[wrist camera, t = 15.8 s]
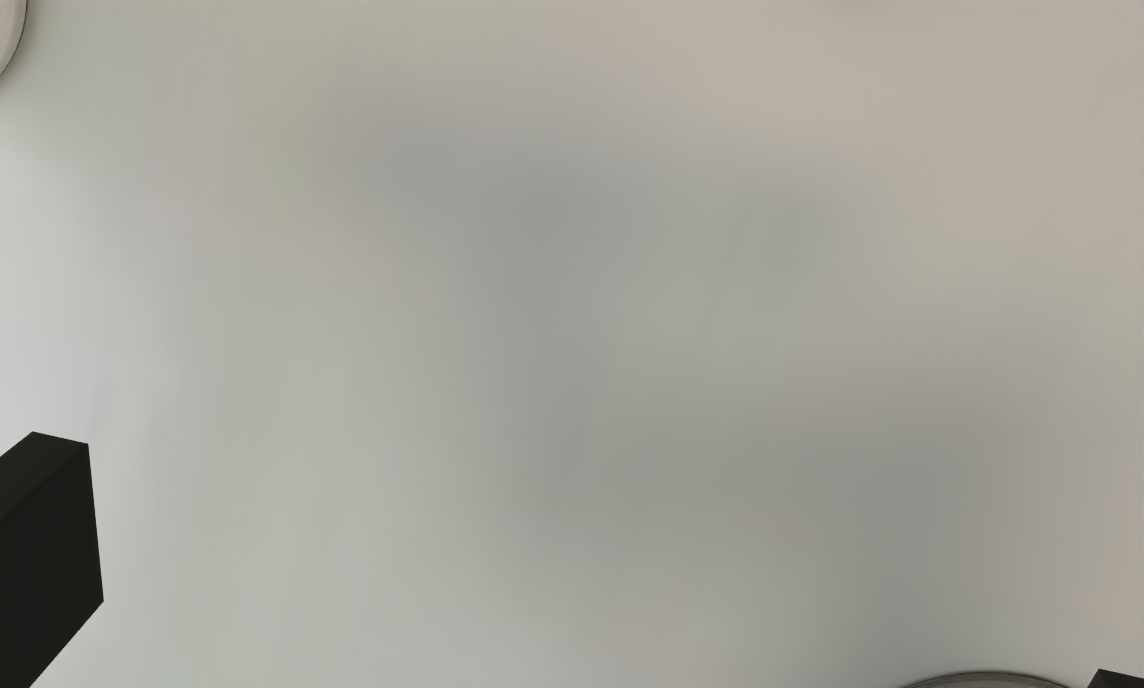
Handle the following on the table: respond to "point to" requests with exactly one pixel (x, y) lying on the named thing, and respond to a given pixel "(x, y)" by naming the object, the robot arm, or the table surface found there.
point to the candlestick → (10, 28)
